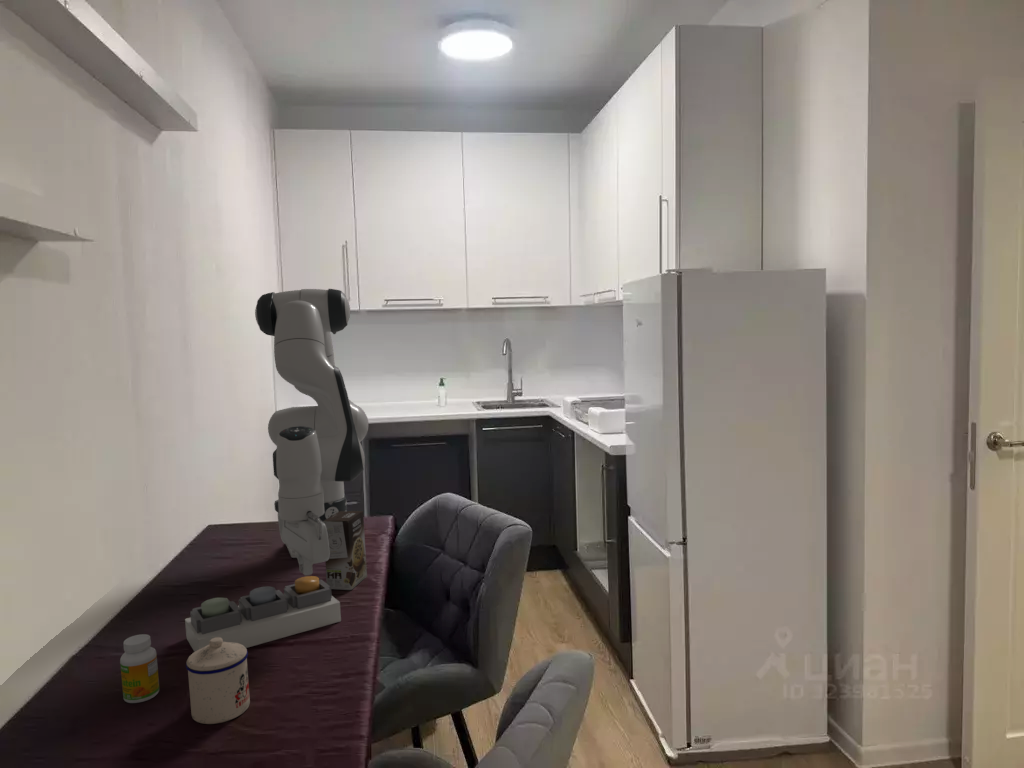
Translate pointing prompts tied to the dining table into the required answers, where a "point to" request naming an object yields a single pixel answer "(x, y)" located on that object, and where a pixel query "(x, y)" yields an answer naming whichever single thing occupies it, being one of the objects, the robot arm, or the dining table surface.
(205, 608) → the sage button
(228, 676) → the teacup with lid
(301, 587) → the orange button
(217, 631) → the button console
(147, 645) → the supplement bottle
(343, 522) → the coffee box
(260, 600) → the slate button
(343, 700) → the dining table surface
